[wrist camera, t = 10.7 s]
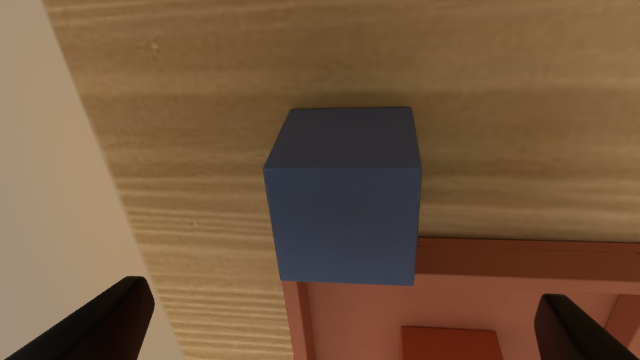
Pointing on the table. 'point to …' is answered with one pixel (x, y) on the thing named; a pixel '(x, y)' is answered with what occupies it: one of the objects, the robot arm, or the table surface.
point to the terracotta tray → (469, 297)
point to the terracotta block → (448, 344)
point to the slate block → (345, 196)
